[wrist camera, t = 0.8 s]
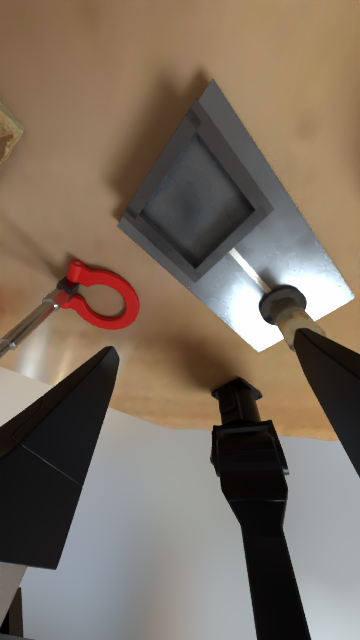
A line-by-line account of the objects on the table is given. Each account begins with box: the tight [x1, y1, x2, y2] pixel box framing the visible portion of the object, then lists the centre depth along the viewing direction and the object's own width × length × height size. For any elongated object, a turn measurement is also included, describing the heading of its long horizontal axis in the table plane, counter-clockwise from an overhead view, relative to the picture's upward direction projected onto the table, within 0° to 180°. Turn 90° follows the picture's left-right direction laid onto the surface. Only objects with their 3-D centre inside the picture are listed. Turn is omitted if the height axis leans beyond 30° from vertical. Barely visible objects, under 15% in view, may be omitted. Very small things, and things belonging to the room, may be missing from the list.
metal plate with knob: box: [117, 79, 355, 352], centre depth 17 cm, size 23×12×7 cm, turn 47°
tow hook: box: [0, 259, 139, 359], centre depth 19 cm, size 8×13×9 cm
